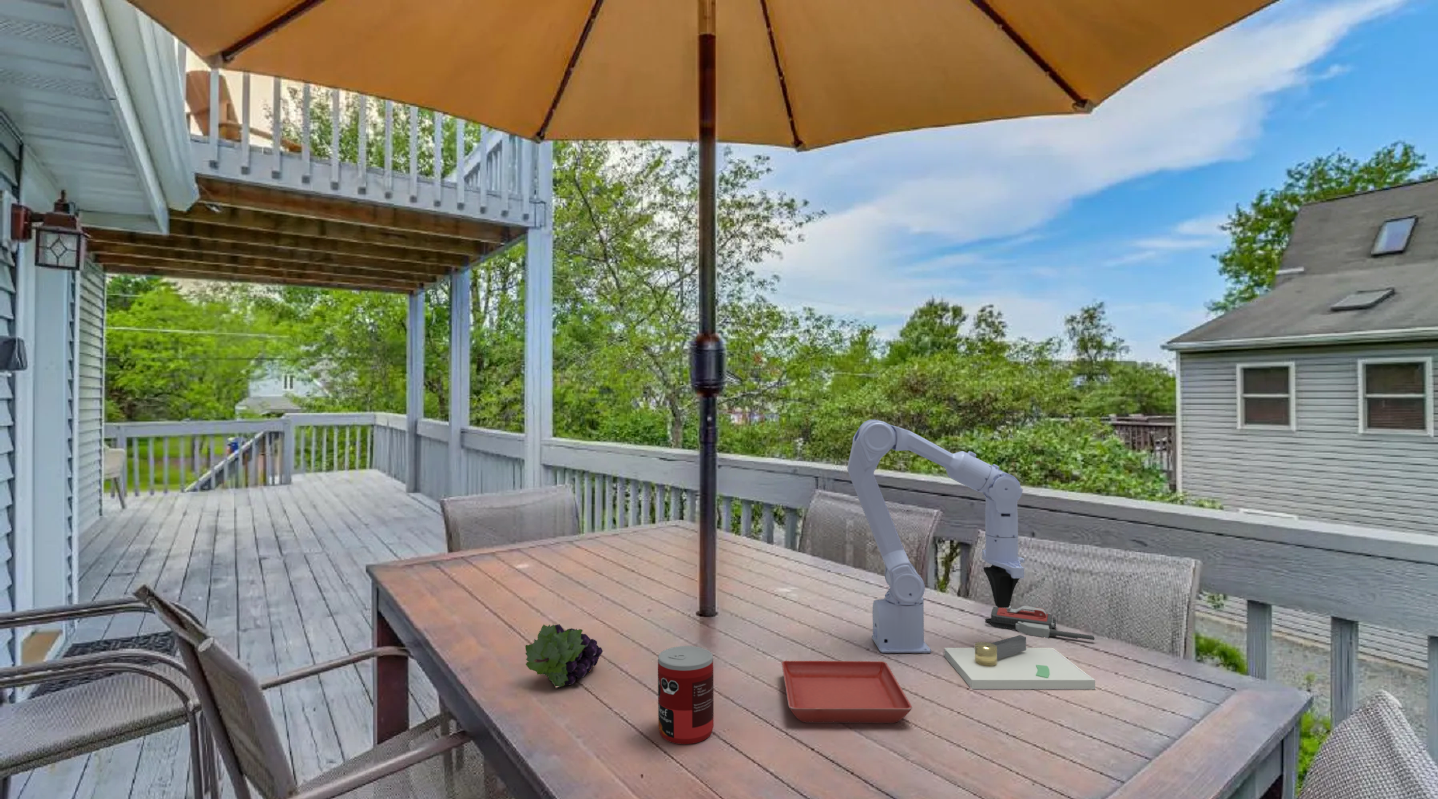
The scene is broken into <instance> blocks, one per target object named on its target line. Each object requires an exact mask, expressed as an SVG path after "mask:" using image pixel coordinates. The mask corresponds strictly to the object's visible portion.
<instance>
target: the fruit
mask: <svg viewBox="0 0 1438 799" xmlns="http://www.w3.org/2000/svg"><path fill="white" fill-rule="evenodd" d="M603 652H604V650H603V648H602V647H600V646H599V645H598V641H597V640H596V639H594V638H590V637H589V636H588V635H587V634H586V633H583V629H580V628H579V629H577V628H576V629H575V628H572V627H571V628H567V629H566V630H564V628H563V627H562V625H561V623H558V624H552V625H551V624H548V625H546V624H543V625H542V627H541V628H540V630H539V632H538V634H537V639H536V638H534V639H533V643H530V644H526V645H525V655H526V659H525V660H526V663H525V665H526V667H527V669H528V670H529V671H530V670H531V671H533V672H535V673H536V675H544V676H545V677H547V678H548V680H549V681H551V684H553V685H554V687H555V686H559V688H560V687H564V686H570V685H569V684H572V685H573V684H574V683H575V682H576V681H577V680H576V679H581V678H583V677H585V675H586V674H588V673H590V672H591V671H590V670H592V669H593V666H594V667H596V666H597V665H598V662H599V659H600V657H601V655H602V654H603ZM589 671H590V672H589Z"/></svg>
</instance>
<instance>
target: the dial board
mask: <svg viewBox="0 0 1438 799" xmlns="http://www.w3.org/2000/svg"><path fill="white" fill-rule="evenodd" d="M943 656H944V658H945V659H946V660H947V661H948V662H949V663H950V665H951V666H952V667H953V668H954V669H955V671H956V672H957V673H958V675H960V677H961V678H962V680H963V681H964V682H966V684H967V685H968V686H969V687H970V689H972V690H1096V679H1095V678H1093V677H1092V676H1091V675H1089V674H1088V673H1086V672H1085V671H1084V670H1082V669H1081V668H1080V667H1078V666H1077V665H1076V664H1075V663H1073V662H1072V661H1071V660H1070V659H1068V658H1067V657H1065V656H1064V655H1063V654H1062V653H1061V652H1059V651H1058V650H1056V649H1055V648H1053V647H1026V650H1025V651H1022V652H1019V653H1015V654H1012V655H1008V656H1005V657H1002V658H998V659H997V664H996V665H983V664H980V663H977V662H976V661H975V647H943Z"/></svg>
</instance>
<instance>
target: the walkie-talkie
mask: <svg viewBox="0 0 1438 799" xmlns="http://www.w3.org/2000/svg"><path fill="white" fill-rule="evenodd" d="M1052 617H1053V614H1050V613H1047V611H1046V609H1044V608H1042V607H1033V606H1028V605H1021V606H1020V607H1018V608H1012V606H1011V605H1010V606H1009V608H998V607H997V606H993V607H992V610H991V612H990V617H988V618H985V619H984V622H985V624H988V625H991V627H994V628H999V629H1000V628H1001V629H1005V628H1007V630H1013V631H1017V632H1018V633H1021V634H1024V635H1026V636H1034V637H1038V636H1039V638H1044V637H1045V639H1049V638H1050V637H1061V638H1062V637H1063V638H1069V639H1074V640H1075V639H1076V640H1078V639H1082V640H1083V639H1084V640H1089V641H1090V640H1091V641H1094V640H1095V638H1096V637H1094V635H1091V634H1084V633H1078V632H1077V633H1075V632H1070V631H1069V632H1068V631H1061V630H1056V628H1057V619H1056V617H1053V618H1052Z"/></svg>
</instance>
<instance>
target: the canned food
mask: <svg viewBox="0 0 1438 799" xmlns="http://www.w3.org/2000/svg"><path fill="white" fill-rule="evenodd" d="M657 656H658V658H657V707H658V708H657V709H658V710H657V712H658V713H657V714H658V715H657V716H658V718H657V719H658V721H657V724H658V732H659V734H660V736H661V737H662V738H663V739H664V740H666V741H667V742H670V743H673V744H676V745H693V744H697V743H700V742H703V741H705V740H707V739H708V738H709V737H710V736H711V735H712V733H713V730H714V726H715V725H714V723H715V722H714V720H715V718H714V717H715V716H714V715H715V714H714V712H715V711H714V702H715V701H714V655H713V653H712V652H711V651H710V650H709V649H707V648H704V647H700V646H695V645H694V646H693V645H680V646H674V647H670V648H666V649H664V650H663V651H660V652H659V654H658V655H657Z"/></svg>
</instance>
